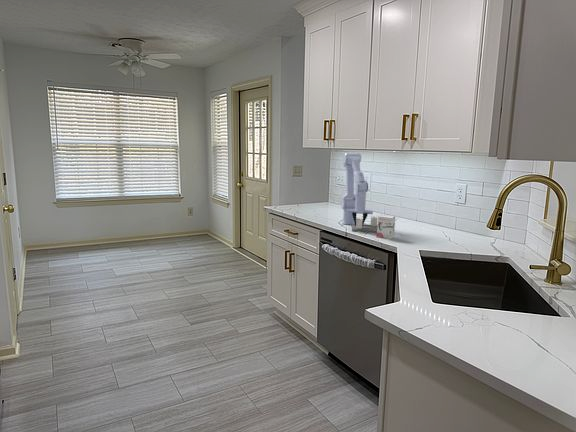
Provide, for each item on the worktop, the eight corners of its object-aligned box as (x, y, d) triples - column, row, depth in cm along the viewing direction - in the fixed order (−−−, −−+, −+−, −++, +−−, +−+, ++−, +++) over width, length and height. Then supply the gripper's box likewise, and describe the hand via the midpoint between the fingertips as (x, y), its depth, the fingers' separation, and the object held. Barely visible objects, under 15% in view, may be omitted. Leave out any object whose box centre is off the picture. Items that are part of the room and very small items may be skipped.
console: (351, 225, 251) (351, 223, 250) (383, 227, 248) (383, 225, 248) (351, 231, 234) (352, 229, 234) (385, 233, 231) (385, 231, 231)
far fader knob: (370, 224, 248) (371, 216, 247) (376, 224, 247) (376, 216, 246) (370, 226, 243) (371, 217, 242) (376, 226, 243) (377, 218, 242)
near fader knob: (355, 226, 240) (356, 217, 239) (361, 226, 240) (362, 218, 239) (355, 228, 236) (356, 219, 235) (362, 228, 235) (362, 219, 234)
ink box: (376, 237, 222) (377, 215, 220) (378, 235, 226) (380, 214, 224) (392, 239, 218) (393, 217, 216) (394, 237, 222) (395, 216, 220)
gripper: (347, 203, 232) (346, 226, 235) (373, 204, 230) (371, 227, 233) (347, 201, 239) (346, 224, 241) (372, 202, 237) (371, 225, 239)
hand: (359, 225), depth 237 cm, fingers closed on near fader knob, 3 cm apart
